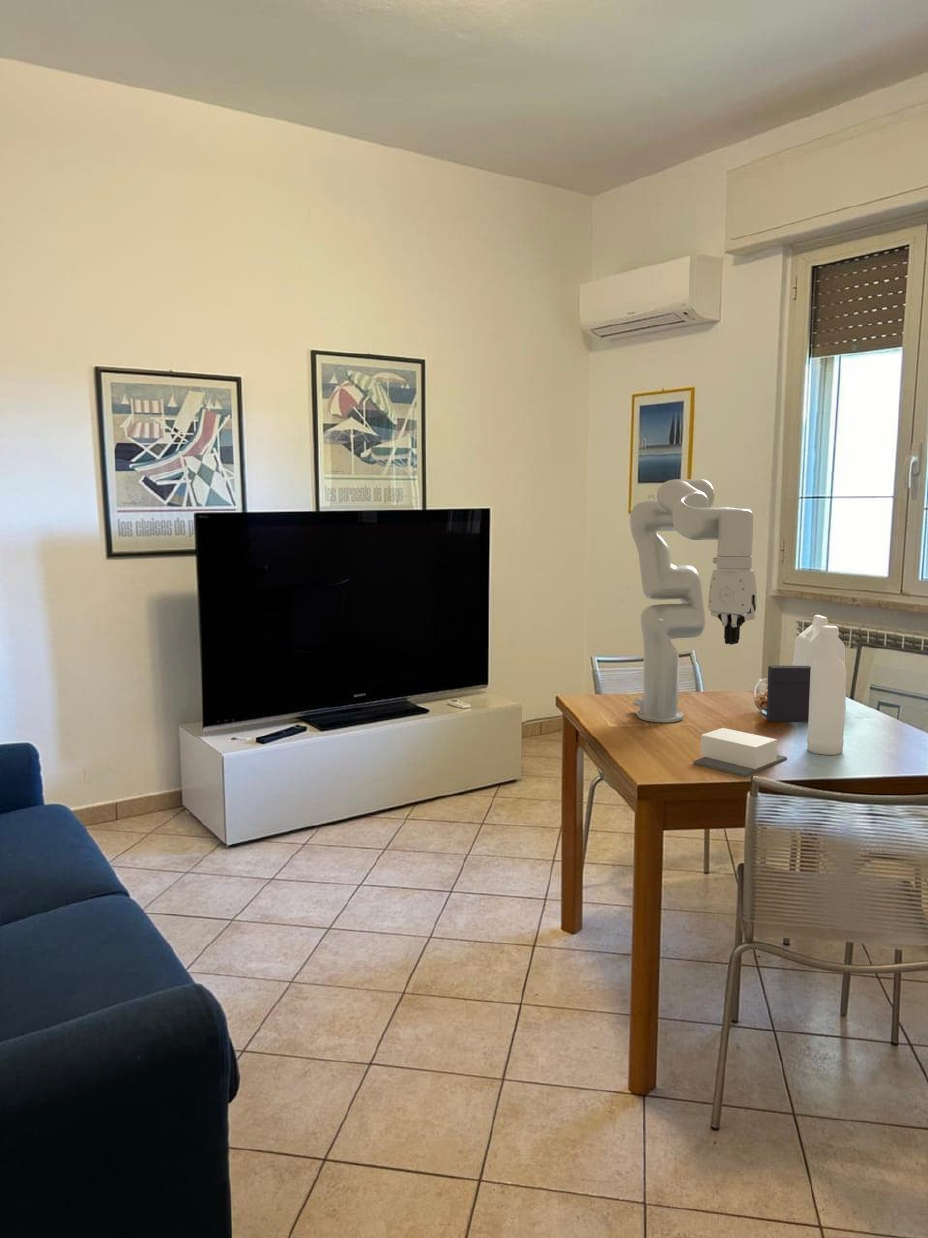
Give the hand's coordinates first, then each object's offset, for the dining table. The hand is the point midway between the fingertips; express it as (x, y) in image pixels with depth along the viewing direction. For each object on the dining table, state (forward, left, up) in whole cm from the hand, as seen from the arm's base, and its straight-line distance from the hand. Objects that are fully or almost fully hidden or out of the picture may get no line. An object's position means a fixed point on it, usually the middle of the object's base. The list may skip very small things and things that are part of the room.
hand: (731, 643), depth 196 cm
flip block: (-4, -1, -24) cm, 24 cm away
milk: (-11, +64, -27) cm, 71 cm away
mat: (+3, -1, -27) cm, 27 cm away
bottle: (+13, +21, -27) cm, 37 cm away
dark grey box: (-7, +41, -27) cm, 50 cm away
